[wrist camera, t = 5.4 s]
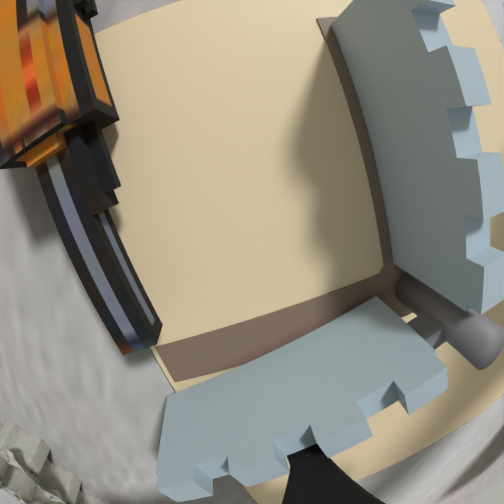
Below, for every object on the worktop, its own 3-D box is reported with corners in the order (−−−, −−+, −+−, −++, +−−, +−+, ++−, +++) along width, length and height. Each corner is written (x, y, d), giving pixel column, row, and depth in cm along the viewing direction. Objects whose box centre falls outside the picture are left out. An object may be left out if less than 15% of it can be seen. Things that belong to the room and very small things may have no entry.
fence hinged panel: (419, 264, 9) (507, 319, 5) (425, 292, 10) (504, 351, 6) (164, 393, 10) (149, 493, 6) (183, 413, 10) (177, 509, 6)
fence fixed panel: (414, 255, 9) (502, 306, 5) (393, 263, 9) (480, 321, 5) (355, 23, 7) (431, -39, 3) (330, 24, 7) (399, -46, 3)
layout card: (480, 3, 7) (484, 2, 7) (500, 394, 14) (502, 396, 14) (53, 60, 7) (49, 57, 6) (261, 506, 14) (262, 509, 13)
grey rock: (-33, 406, 10) (-59, 444, 6) (40, 419, 11) (11, 475, 7) (47, 498, 13) (36, 533, 9) (123, 513, 14) (116, 556, 10)
